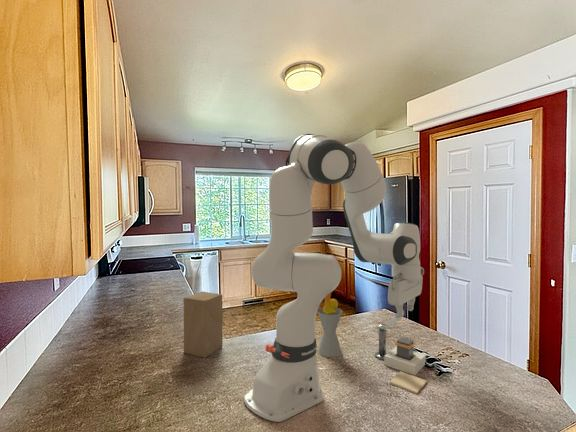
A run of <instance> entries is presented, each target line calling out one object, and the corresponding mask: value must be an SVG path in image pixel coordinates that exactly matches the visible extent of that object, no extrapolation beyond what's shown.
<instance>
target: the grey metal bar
mask: <svg viewBox="0 0 576 432" xmlns="http://www.w3.org/2000/svg"><path fill="white" fill-rule="evenodd" d="M401 320H402V317H399V316H397V312H396V313H395V316H394V317H392V318H390V319H389V320H387V321H384V322H383V323H382V322H381V323H378V324H377V329H378V330H379V329H381V330H386V331H387V330H388V328H389V327H391V326H392V325H394V324H396V323H398V322H400V321H401Z"/></svg>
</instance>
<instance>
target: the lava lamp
mask: <svg viewBox="0 0 576 432" xmlns="http://www.w3.org/2000/svg"><path fill="white" fill-rule="evenodd" d="M328 255H329V256H333V257H334V258H335V256H334V254H328ZM332 293H333V291H332V292H330V293H329V294H328V295H327V296H326V297H325V298H324V305H323V306H322V307H318V310H317V314H318V318H319V321H320V323H321V326H322V329H323V331H322V332H323V333H322V335H321V339H320V342H319V345H318V348H317V353H318V354H319V355H321V356H323V357H326V358H337V357H340V355H342V349H341V345H340V342H339V338H338V335H337V332H336V331H337V328H338V325H339V323H340V321H341V316H342V315H343V310H342V309H341V308H339V307H338V306H339V302H338V300H337V299H335V298H331V296H332Z"/></svg>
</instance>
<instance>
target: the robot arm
mask: <svg viewBox="0 0 576 432" xmlns="http://www.w3.org/2000/svg"><path fill="white" fill-rule="evenodd" d="M316 182H317V183H319V184H322V185H327V186H328V185H335V184H339V183H340V184H341V187H342V189H343V191H344V195H345V197H344V199H343V202H342V208H343V209H342V210H343V214H344V218H345V221H346V225H347V228H348V231H349V233H350V237H351V240H352V249H353V253H354V255H355V257H356V258H357V259H358V261H360V262H362V263H372V264H373V263H377V264H382V265H391V277H392V279H391V280H390V281H389V282H388V283H389V284H388V290H387V303H388V305H390V306H394V307H395V309H396V313H397V316H399V317H401V318H402V317H404V316H405V310H404V308H403V307H404V304H406V303H407V304H406V310H407V311H408V312H413V310H414V305H415V302H416V297H418V296H421V294H422V290H423V280H424V279H423V277H424V276H423V275H424V274H425V269H424V268H423V267H422V266H421V260H420V252H421V234H420V229H419V227H418V225H417V224H415V223H411V222H395V223H394V225H393V229H392V231H391V232H390V233H381V232H374V231H373V232H372V231H371V230H369V229H368V227H367V223H366V221H365V220H366V219H365V217H364V214H366V213H368V212H370V211H373V210H374V209H376V208H378V206H379V205H380V204H381V203H382V202H383V201H384V199H385V197H386V194H387V184H386V183H387V182H386V180H385V178H384V176H383V173H382V171H381V169H380V166H379V163H378V162H377V160H376V159H375V157H374V155H373V154H372V152H371V150H370V149H369V148H368V146H367V145H366V144H365V143H363V142H359V141H352V142H347V143H346V144H344V143H342V142H341V141H339V140H336V139H333V138H330V137H328V136H326V135H324V134H322V135H321V134H315V133H305V134H303V135H300V136H298V137H297V138H295V140H294V141H293V142H292V144H291V146H290V149H289V153H288V155H287V158H286V160H285V166H281V167H279V168H277V169H275V170H274V171H273V173H272V174H271V177H270V181H269V194H268V195H269V212H270V225H271V226H270V228H271V230H270V240H269V243H268V245H267V247H266V248H265V249H264V250H263V251H262V252H261V253H260V254H258V255H257V256H256V257H255V259H254V260H253V262H252V264H251V269H250V270H251V278H252V280H253V282H254V284H255V285H256V286H257V287H259V288H263V289H267V290H270V291H280V292H295V293H296V294H297V298H296V299H294V300H292V301H289V302H287V303H285V304H283V305H281V306H280V308H279V309H278V310H277V313H276V316H275V318H276V320H275V321H276V322H275V324H276V329H275V330H276V334H275V335H276V336H275V338H274V341H273V345H272V344H270V343H267V344H266V345H265V347H264V350H265V352H267V353H270V354H271V355H270V356H269V357H268V358H267V360H266V362H265V363H264V364H263V365H262V367H261V368H260V370H259V371H258V372H257V374H255V377H254V379H253V385H252V389H251V390H249V391H248V392H247V393H246V394H244V396H243V402H244V404H245V406H246V408H248V409H249V410H250V411H252V413H254V414H255V415H257V416H259V417H261V418H263V419H265V420H268V421H271V422H274V423H275V422H276V423H277V422H278V423H281V422H284V421H286V420H288V419H290V418H292V417H293V416H296V415H297V414H299V413H301V412H304V411H305V410H307V409H309V408H311V407H314V406H316V405H318V404H320V403H321V402H323V401H324V394H323V393H322V391H321V389H322V387H321V382H320V371H319V366H318V361H317V358H316V353H317V349H318V348H317V347H318V344H317V339H316V319H317V314H318V311H317V310H318V308H320V305H321V303H322V302H323V300H325V297H326V296H327V295H328V294H329V293H330V292H332V293H333V291H334V290H336V289H337V287H338V286H339V284H340V283H341V280H342V268H341V264H340V262H339V261H338V259H337V258H336V257H335V256H334V255H333V256H334V257H333V256H329V255H330V254H324V253H319V252H296V251H293V250H295V249H296V248H298V247H300V246H302V245H304V244H305V243H307V242H308V241H309V240H310V239H311V238H312V235H313V233H314V225H313V223H314V222H313V205H312V204H313V203H312V191H313V187H314V185H315V183H316Z"/></svg>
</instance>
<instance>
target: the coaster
mask: <svg viewBox="0 0 576 432" xmlns="http://www.w3.org/2000/svg"><path fill="white" fill-rule="evenodd" d="M427 382H428V381H427V380H426V379H424V378H420V377H418V376H416V375H412V374H409V373H406V372H403V371H400V370H399V372H398V373H397V374H396V375H395V376H393V378H391V380H390V381H389V384H390V385H393V386H396V387H398V388H400V389H403V390H405V391H408V392H410V393H413V394H416V395H418V394H419V392H420V391H421V390H422V389H423V388H424V386H425V385H426V384H427Z"/></svg>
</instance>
